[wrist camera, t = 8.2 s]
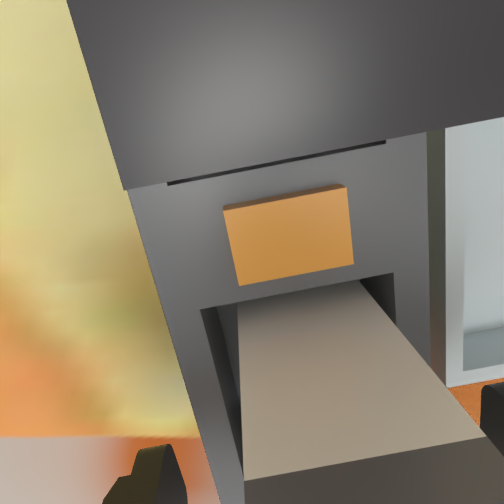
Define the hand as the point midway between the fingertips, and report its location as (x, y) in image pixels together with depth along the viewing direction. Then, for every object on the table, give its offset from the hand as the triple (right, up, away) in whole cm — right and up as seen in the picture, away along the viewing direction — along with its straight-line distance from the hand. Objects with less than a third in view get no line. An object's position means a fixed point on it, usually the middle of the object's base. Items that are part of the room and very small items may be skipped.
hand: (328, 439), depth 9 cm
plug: (0, +2, +5) cm, 5 cm away
